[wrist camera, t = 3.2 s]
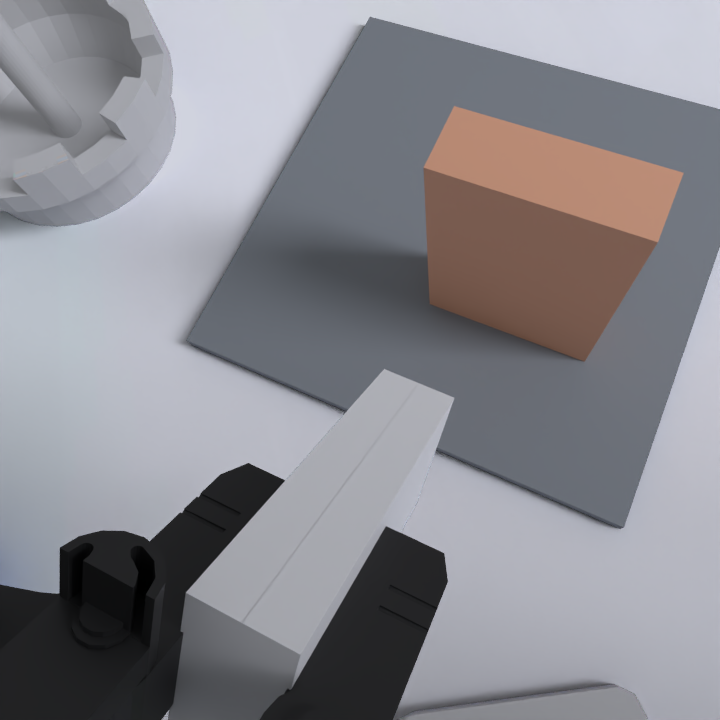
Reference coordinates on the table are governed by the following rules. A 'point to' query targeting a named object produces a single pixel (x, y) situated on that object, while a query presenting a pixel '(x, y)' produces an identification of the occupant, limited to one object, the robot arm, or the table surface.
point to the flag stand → (80, 107)
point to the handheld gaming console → (546, 707)
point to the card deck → (537, 229)
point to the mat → (410, 267)
